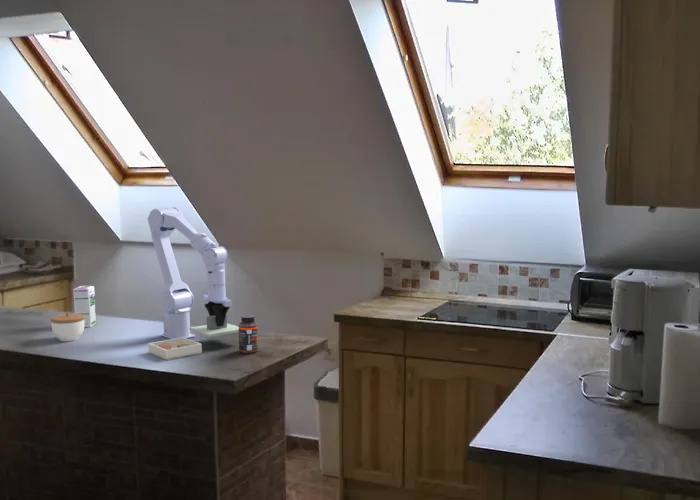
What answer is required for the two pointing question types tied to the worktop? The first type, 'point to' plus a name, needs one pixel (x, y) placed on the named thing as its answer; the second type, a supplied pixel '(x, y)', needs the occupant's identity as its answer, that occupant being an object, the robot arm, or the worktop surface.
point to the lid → (215, 328)
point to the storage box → (174, 348)
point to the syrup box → (85, 304)
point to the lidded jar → (68, 326)
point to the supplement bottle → (248, 335)
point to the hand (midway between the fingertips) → (217, 325)
